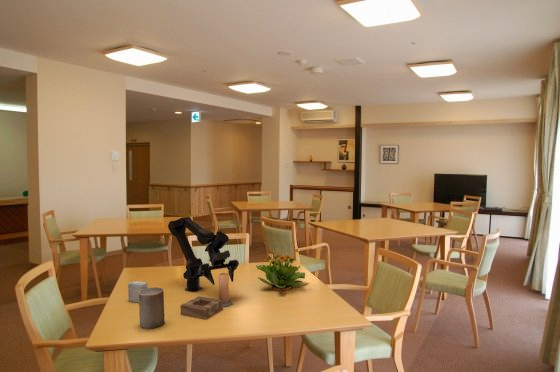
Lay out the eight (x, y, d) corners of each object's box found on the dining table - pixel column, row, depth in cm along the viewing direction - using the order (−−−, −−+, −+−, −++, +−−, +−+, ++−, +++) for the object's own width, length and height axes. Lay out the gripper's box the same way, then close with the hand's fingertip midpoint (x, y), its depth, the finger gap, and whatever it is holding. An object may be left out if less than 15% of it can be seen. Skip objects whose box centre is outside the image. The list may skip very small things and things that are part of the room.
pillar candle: (167, 319, 167) (166, 283, 166) (161, 328, 157) (159, 291, 156) (143, 319, 167) (142, 284, 166) (136, 329, 157) (134, 292, 156)
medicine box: (148, 300, 190) (148, 282, 189) (142, 303, 186) (142, 285, 185) (134, 298, 192) (133, 280, 191) (128, 301, 188) (127, 283, 187)
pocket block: (198, 304, 184) (198, 296, 183) (222, 309, 178) (222, 300, 178) (180, 314, 172) (180, 305, 172) (205, 319, 166) (205, 310, 166)
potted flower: (298, 298, 192) (298, 262, 191) (251, 294, 197) (251, 260, 196) (305, 282, 217) (306, 251, 216) (263, 280, 222) (263, 249, 221)
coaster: (221, 300, 190) (221, 298, 190) (235, 302, 186) (235, 300, 186) (211, 305, 183) (211, 303, 182) (226, 308, 179) (226, 306, 179)
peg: (222, 300, 187) (222, 272, 187) (230, 301, 186) (230, 274, 185) (216, 303, 183) (216, 275, 183) (225, 304, 181) (225, 276, 181)
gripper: (199, 247, 183) (208, 276, 174) (237, 243, 192) (247, 271, 183) (194, 260, 190) (202, 289, 181) (231, 255, 199) (240, 283, 191)
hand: (223, 283), depth 184 cm, fingers open, 9 cm apart
